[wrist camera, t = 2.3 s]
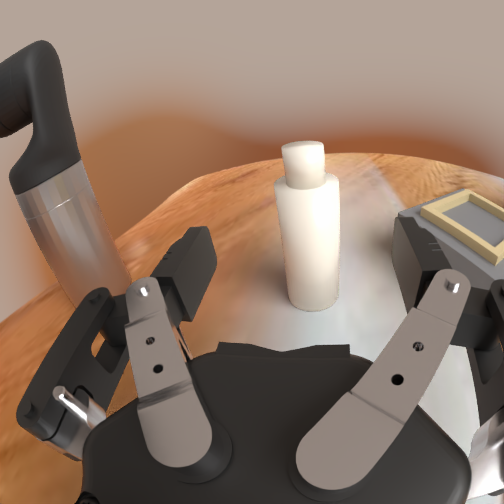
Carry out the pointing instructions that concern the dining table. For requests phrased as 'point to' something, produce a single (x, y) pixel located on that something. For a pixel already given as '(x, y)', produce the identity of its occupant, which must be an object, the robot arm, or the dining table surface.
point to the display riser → (466, 233)
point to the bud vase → (309, 226)
